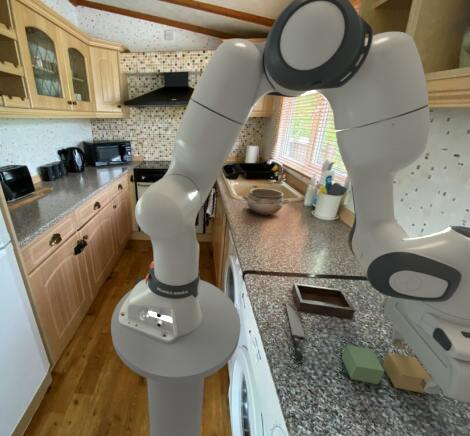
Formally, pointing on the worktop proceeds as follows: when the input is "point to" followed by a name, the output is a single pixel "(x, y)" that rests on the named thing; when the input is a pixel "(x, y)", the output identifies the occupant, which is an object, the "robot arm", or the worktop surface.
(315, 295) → the brown wooden tray
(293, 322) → the chef's knife
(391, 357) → the tan block
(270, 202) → the cooking pot
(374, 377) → the green block
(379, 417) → the worktop surface
